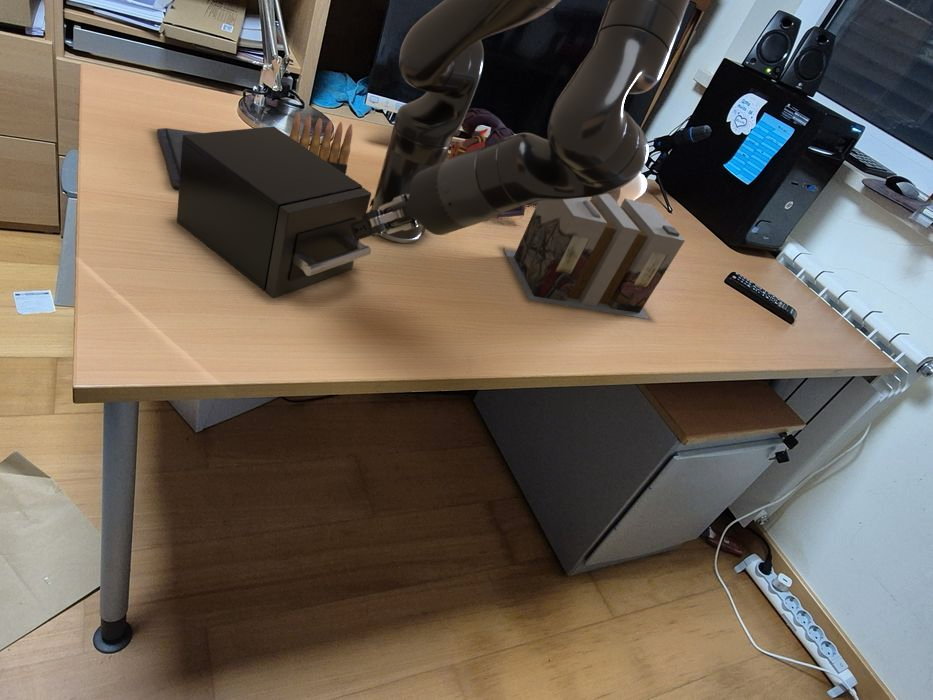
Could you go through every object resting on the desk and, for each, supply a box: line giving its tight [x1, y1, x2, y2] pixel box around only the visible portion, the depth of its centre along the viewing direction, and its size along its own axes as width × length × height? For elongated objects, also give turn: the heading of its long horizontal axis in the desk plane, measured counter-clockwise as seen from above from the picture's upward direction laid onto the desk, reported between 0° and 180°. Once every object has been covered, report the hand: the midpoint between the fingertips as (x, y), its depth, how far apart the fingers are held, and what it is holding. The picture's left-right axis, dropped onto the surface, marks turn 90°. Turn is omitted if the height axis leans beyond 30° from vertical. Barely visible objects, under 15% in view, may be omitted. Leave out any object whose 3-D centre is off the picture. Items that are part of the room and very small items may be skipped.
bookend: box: [503, 193, 686, 320], centre depth 109 cm, size 16×25×16 cm, turn 104°
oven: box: [176, 126, 364, 292], centre depth 86 cm, size 18×15×13 cm
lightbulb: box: [616, 172, 648, 206], centre depth 147 cm, size 6×6×11 cm
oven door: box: [265, 187, 372, 299], centre depth 82 cm, size 5×15×13 cm, turn 145°
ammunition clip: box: [288, 112, 353, 175], centre depth 105 cm, size 11×2×12 cm, turn 111°
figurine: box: [448, 107, 526, 218], centre depth 122 cm, size 20×14×17 cm
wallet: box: [156, 127, 200, 191], centre depth 102 cm, size 20×2×15 cm
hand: (356, 231), depth 79 cm, fingers closed
